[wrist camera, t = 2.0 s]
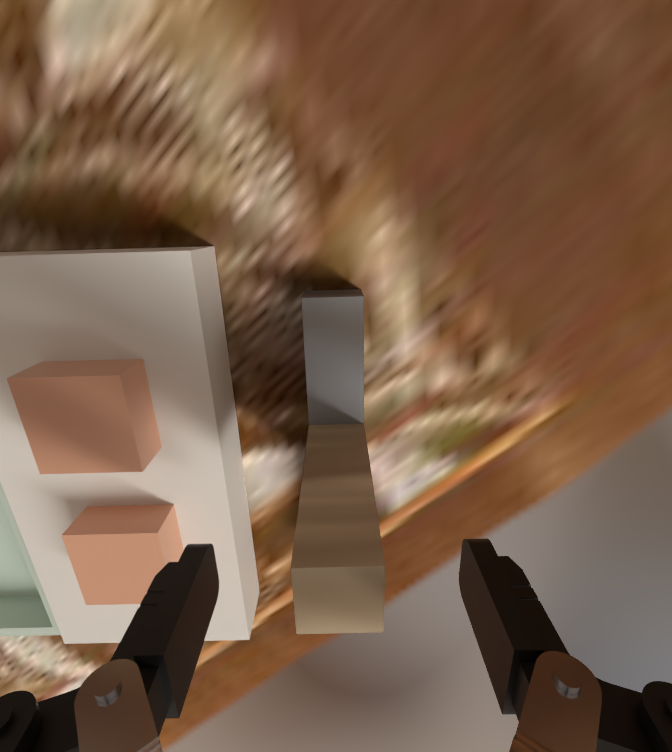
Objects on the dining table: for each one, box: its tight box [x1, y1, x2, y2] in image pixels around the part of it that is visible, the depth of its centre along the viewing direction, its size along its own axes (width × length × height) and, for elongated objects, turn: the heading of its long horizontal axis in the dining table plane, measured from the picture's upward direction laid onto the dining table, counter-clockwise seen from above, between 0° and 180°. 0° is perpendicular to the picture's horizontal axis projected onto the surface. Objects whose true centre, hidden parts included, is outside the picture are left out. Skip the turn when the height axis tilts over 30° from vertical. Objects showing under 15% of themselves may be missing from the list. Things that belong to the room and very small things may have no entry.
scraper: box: [291, 289, 385, 634], centre depth 16 cm, size 14×2×10 cm, turn 2°
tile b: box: [62, 504, 184, 605], centre depth 18 cm, size 4×4×2 cm
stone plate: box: [0, 246, 259, 644], centre depth 19 cm, size 20×10×3 cm, turn 2°
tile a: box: [7, 359, 162, 474], centre depth 15 cm, size 4×4×2 cm
